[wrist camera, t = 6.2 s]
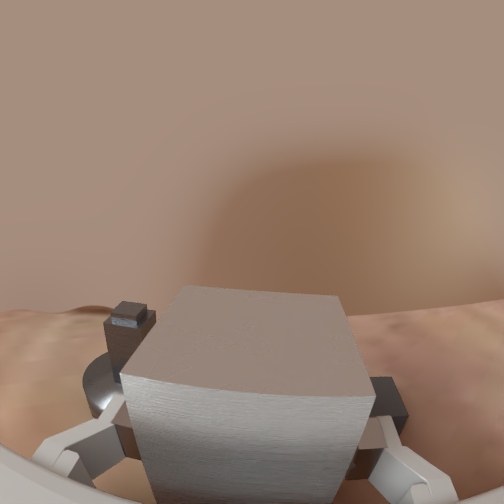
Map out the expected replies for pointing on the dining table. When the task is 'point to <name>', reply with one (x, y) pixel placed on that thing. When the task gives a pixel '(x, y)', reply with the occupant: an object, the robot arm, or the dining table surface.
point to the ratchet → (136, 329)
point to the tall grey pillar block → (247, 398)
